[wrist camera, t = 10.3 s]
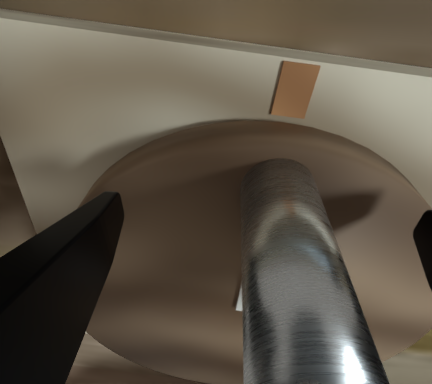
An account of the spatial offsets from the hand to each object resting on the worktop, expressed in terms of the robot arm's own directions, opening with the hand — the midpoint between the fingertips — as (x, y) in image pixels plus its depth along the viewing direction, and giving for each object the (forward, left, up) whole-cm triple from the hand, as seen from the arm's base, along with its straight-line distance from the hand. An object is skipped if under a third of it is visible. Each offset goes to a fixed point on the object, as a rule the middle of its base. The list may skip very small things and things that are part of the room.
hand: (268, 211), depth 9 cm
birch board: (-6, 0, -5) cm, 8 cm away
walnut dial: (-7, -1, -3) cm, 8 cm away
